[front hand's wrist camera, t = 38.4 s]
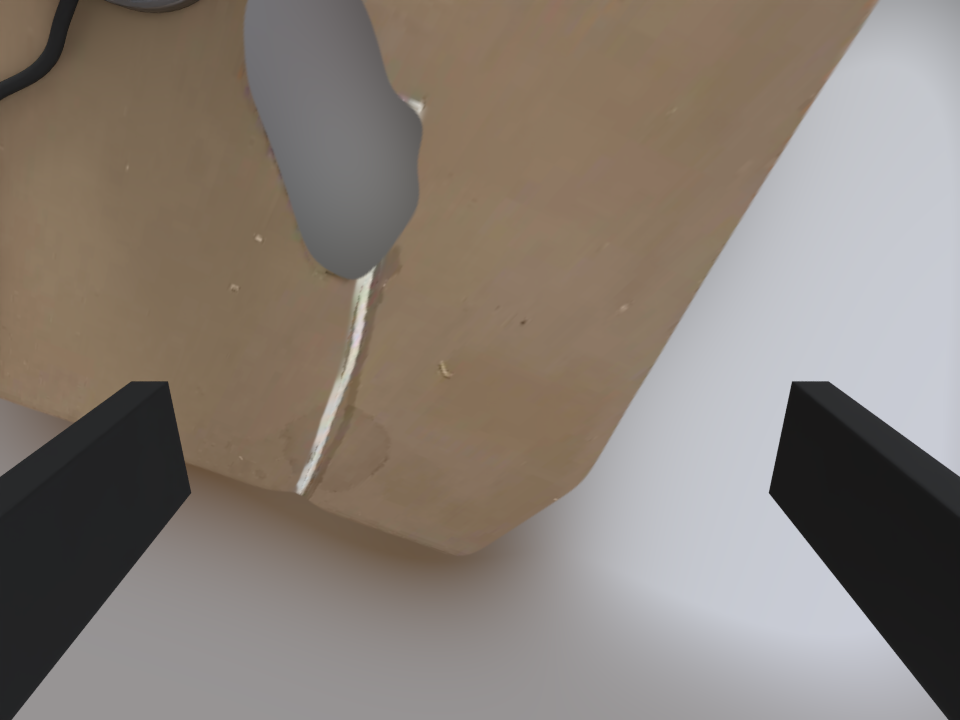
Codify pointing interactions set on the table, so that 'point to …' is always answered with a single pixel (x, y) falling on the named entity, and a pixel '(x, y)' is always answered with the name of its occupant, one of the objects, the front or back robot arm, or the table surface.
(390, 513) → the table surface
